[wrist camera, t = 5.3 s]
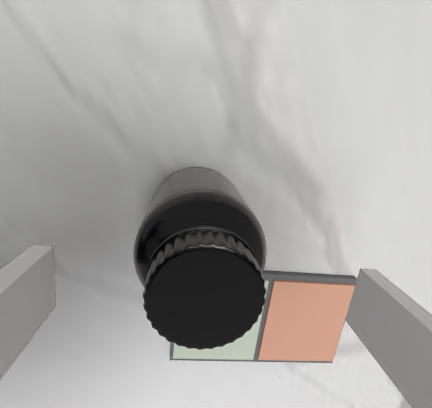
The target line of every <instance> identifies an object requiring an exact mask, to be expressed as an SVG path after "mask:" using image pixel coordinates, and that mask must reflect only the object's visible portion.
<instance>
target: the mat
mask: <svg viewBox="0 0 432 408" xmlns="http://www.w3.org/2000/svg"><path fill="white" fill-rule="evenodd" d="M262 274H263V277H264V279H265V285H264V286H265V288H266V294H265V296H264V297H265V304H264V305H263V307H262V309H263V310H262V313H261V314H260V315H259V316H258V321H257V322H256V323H255V324H253V326H252V328H251V330H249V331H247V332H246V333H245V334H244V335H243V337H241V338H238V339H236V340H235V341H234V342H233V343H228V344H226V345H224V346H223V347H215V348H213V349H202V350H198V349H195V348H193V349H188V348H186V347H184V346H178V345H176V344H175V343H174V342H171V352H170V360H197V361H254V362H311V363H332V362H333V358H334V355H335V352H336V349H337V345H338V342H339V339H340V335H341V332H342V329H343V325H344V322H345V318H346V315H347V311H348V308H349V305H350V301H351V298H352V295H353V291H354V288H355V285H356V281H357V278H356V277H355V276H341V275H325V274H308V273H291V272H275V271H263V272H262Z"/></svg>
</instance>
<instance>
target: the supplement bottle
mask: <svg viewBox="0 0 432 408" xmlns="http://www.w3.org/2000/svg"><path fill="white" fill-rule="evenodd" d="M265 261H266V241H265V236H264V233H263V230H262V228H261V226H260V224H259V222H258V220H257V218H256V217H255V215H254V214H253V212H252V211H251V210H250V208H249V207H248V206H247V204H246V203H245V201H244V200H243V199H242V197H241V196H240V195H239V193H238V192H237V191H236V189H235V188H234V186H233V185H232V184H231V183H230V182H229V181H228V180H227V179H226V178H225V177H224V176H222V175H221V174H219V173H217V172H215V171H213V170H210V169H206V168H198V167H195V168H187V169H183V170H180V171H178V172H176V173H174V174H172V175H171V176H169V177H168V178H167V179H166V180H165V181H164V182H163V183H162V184H161V185H160V187H159V188H158V190H157V192H156V193H155V195H154V198H153V200H152V202H151V204H150V206H149V208H148V211H147V213H146V215H145V217H144V219H143V221H142V223H141V226H140V228H139V230H138V233H137V236H136V240H135V245H134V264H135V269H136V272H137V275H138V277H139V280H140V282H141V283H142V285H143V287H144V292H143V298H144V309H145V311H146V312H147V319H148V320H149V321H151V324H152V327H153V328H154V329H156V330H157V331H158V333H159V335H161V336H163V337H165V338H166V339H167V340H168V341H169V342H174V343H175V344H176V345H178V346H184V347H186V348H188V349H193V348H195V349H198V350H202V349H213V348H215V347H223V346H224V345H226V344H228V343H233V342H234V341H235V340H236V339H238V338H241V337H243V335H244V334H245V333H246V332H247V331H249V330H251V328H252V326H253V324H255V323H256V322H257V321H258V316H259V315H260V314H261V313H262V310H263V309H262V307H263V305H264V304H265V297H264V296H265V294H266V288H265V286H264V285H265V279H264V277H263V274H262V272H263V269H264V266H265Z"/></svg>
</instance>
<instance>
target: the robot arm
mask: <svg viewBox="0 0 432 408" xmlns="http://www.w3.org/2000/svg"><path fill="white" fill-rule="evenodd" d="M55 306H56V294H55V273H54V252H53V246H44V245H32V246H30V247H29V248H28V249H27V250H25V251H24V252H23V253H21V254H20V255H19V256H18V257H16V258H15V259H14V260H12V261H11V262H10V263H9V264H7V265H6V266H5V267H3V268H2V269H1V270H0V380H1V379H2V377H3V376H4V375H5V373H6V372H7V371H8V369H9V368H10V367H11V365H12V364H13V362H14V361H15V360H16V358H17V357H18V356H19V354H20V353H21V352H22V350H23V349H24V348H25V346H26V345H27V344H28V342H29V341H30V340H31V338H32V337H33V335H34V334H35V333H36V331H37V330H38V329H39V327H40V326H41V325H42V323H43V322H44V321H45V319H46V318H47V317H48V315H49V314H50V313H51V311H52V310H53V308H54V307H55ZM345 320H346V321H347V323H348V324H349V325H350V327H351V328H352V329H353V331H354V332H355V333H356V335H357V336H358V337H359V339H360V340H361V341H362V342H363V344H364V345H365V346H366V348H367V349H368V350H369V352H370V353H371V354H372V356H373V357H374V358H375V360H376V361H377V362H378V363H379V365H380V366H381V367H382V369H383V370H384V371H385V373H386V374H387V375H388V377H389V378H390V379H391V381H392V382H393V383H394V384H395V386H396V387H397V388H398V390H399V391H400V392H401V394H402V395H403V396H404V398H405V399H406V400H407V402H408V403H409V404H410V405H411V406H412V408H432V315H431V314H430V313H429V312H428V311H426V310H425V309H424V308H423V307H421V306H420V305H419V304H418V303H417V302H415V301H414V300H413V299H412V298H410V297H409V296H408V295H407V294H405V293H404V292H403V291H402V290H401V289H399V288H398V287H397V286H396V285H394V284H393V283H392V282H391V281H390V280H388V279H387V278H386V277H385V276H383V275H382V274H381V273H380V272H379V271H377V270H376V269H362V268H360V271H359V275H358V278H357V281H356V285H355V288H354V291H353V295H352V298H351V301H350V305H349V308H348V311H347V315H346V318H345Z"/></svg>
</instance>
